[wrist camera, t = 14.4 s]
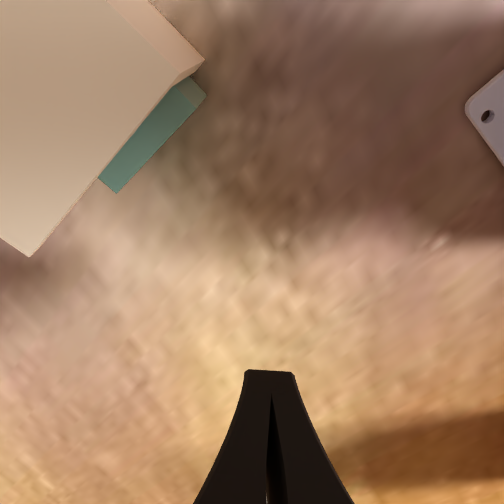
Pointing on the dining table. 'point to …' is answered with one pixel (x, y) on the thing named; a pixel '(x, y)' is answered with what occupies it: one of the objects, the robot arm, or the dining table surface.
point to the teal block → (153, 132)
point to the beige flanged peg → (74, 100)
